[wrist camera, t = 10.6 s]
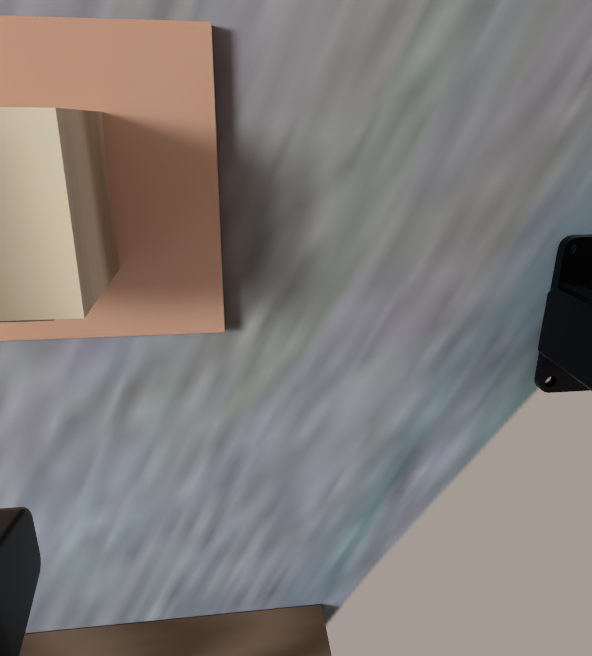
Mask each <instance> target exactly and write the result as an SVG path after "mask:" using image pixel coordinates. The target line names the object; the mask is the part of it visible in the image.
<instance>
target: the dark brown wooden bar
mask: <svg viewBox="0 0 592 656" xmlns="http://www.w3.org/2000/svg"><path fill="white" fill-rule="evenodd" d="M19 656H331V651H330V646H329V641H328V636H327V632H326V627H325V622H324V617H323V612H322V607H321V605H311V606H301V607H291V608H281V609H271V610H261V611H251V612H241V613H231V614H221V615H211V616H201V617H191V618H181V619H171V620H161V621H151V622H141V623H131V624H121V625H111V626H101V627H91V628H81V629H71V630H61V631H51V632H41V633H31V634H25V635H24V639H23V643H22V647H21V651H20V655H19Z"/></svg>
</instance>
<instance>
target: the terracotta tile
mask: <svg viewBox="0 0 592 656" xmlns="http://www.w3.org/2000/svg"><path fill="white" fill-rule="evenodd" d="M0 107H41V108H65V109H76V110H87V111H99V112H102V114H103V123H104V133H105V142H106V151H107V160H108V169H109V178H110V188H111V197H112V206H113V215H114V224H115V233H116V242H117V252H118V261H119V271H118V272H117V273H116V275H115V276H114V278H113V279H112V280H111V282H110V283H109V285H108V286H107V287H106V289H105V290H104V292H103V293H102V294H101V296H100V297H99V299H98V300H97V301H96V303H95V304H94V306H93V307H92V308H91V310H90V311H89V313H88V314H87V315H86V317H85V318H81V319H55V320H54V321H30V322H0V341H11V340H37V339H63V338H88V337H114V336H140V335H166V334H191V333H217V332H225V321H224V298H223V275H222V252H221V229H220V206H219V183H218V160H217V137H216V114H215V91H214V68H213V45H212V24H211V22H210V21H175V20H140V19H104V18H69V17H34V16H0Z"/></svg>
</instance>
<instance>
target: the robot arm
mask: <svg viewBox="0 0 592 656" xmlns="http://www.w3.org/2000/svg"><path fill="white" fill-rule="evenodd" d="M574 244H576V250H575V252H574V253H572V254H570V249H571V247H572V246H573V245H574ZM538 350H539V356H538V361H537V367H536V373H535V384H536V386H538V387H539V388H540V389H541V390H543V391H544V392H548V393H550V392H568V391H586V390H591V391H592V235H571V236H567V237H566V238H564V239H563V240H562V241H561V242H560V244H559V247H558V251H557V256H556V262H555V267H554V273H553V278H552V284H551V289H550V292H549V293H548V296H547V301H546V307H545V312H544V318H543V324H542V329H541V335H540V340H539V346H538ZM548 377H551V379H550V381H548V382H547V383H545V381H546V379H547V378H548ZM40 564H41V558H40V551H39V546H38V542H37V537H36V532H35V527H34V522H33V517H32V514H31V512H30V511H29V509H27V508H25V507H15V508H1V509H0V656H19V655H20V651H21V647H22V643H23V639H24V635H25V631H26V627H27V623H28V619H29V615H30V610H31V606H32V602H33V598H34V594H35V590H36V586H37V582H38V578H39V573H40Z"/></svg>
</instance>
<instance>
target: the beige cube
mask: <svg viewBox="0 0 592 656" xmlns="http://www.w3.org/2000/svg"><path fill="white" fill-rule="evenodd" d="M118 271H119V261H118V252H117V242H116V233H115V224H114V215H113V206H112V197H111V188H110V178H109V169H108V160H107V151H106V142H105V133H104V123H103V114H102V112H99V111H87V110H76V109H65V108H41V107H0V322H30V321H54V320H55V319H81V318H85V317H86V315H87V314H88V313H89V311H90V310H91V308H92V307H93V306H94V304H95V303H96V301H97V300H98V299H99V297H100V296H101V294H102V293H103V292H104V290H105V289H106V287H107V286H108V285H109V283H110V282H111V280H112V279H113V278H114V276H115V275H116V273H117V272H118Z"/></svg>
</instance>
